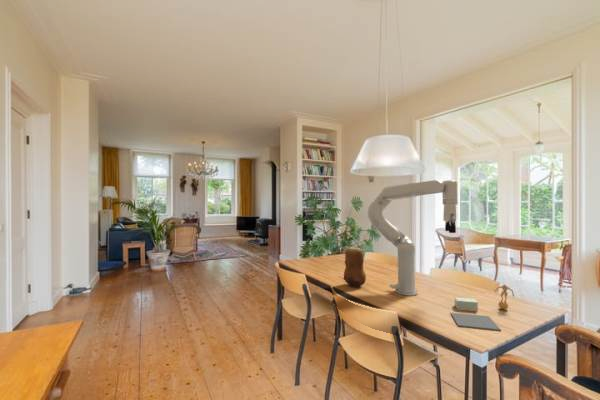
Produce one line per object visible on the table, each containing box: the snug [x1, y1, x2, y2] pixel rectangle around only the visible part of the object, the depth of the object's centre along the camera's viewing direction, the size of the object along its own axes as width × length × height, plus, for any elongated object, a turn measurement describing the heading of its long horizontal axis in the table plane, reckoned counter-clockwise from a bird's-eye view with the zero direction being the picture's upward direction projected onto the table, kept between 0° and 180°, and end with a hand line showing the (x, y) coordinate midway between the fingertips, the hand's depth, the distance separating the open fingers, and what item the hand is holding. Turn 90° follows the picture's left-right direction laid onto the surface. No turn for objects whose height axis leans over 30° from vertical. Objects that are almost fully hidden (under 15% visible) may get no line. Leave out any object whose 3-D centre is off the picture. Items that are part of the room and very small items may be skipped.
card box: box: [454, 296, 479, 312], centre depth 142 cm, size 9×6×4 cm, turn 73°
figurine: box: [494, 284, 515, 310], centre depth 141 cm, size 8×6×12 cm
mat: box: [450, 312, 502, 332], centre depth 126 cm, size 16×14×1 cm
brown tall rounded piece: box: [343, 246, 367, 288], centre depth 181 cm, size 14×13×25 cm
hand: (450, 231), depth 160 cm, fingers open, 9 cm apart
